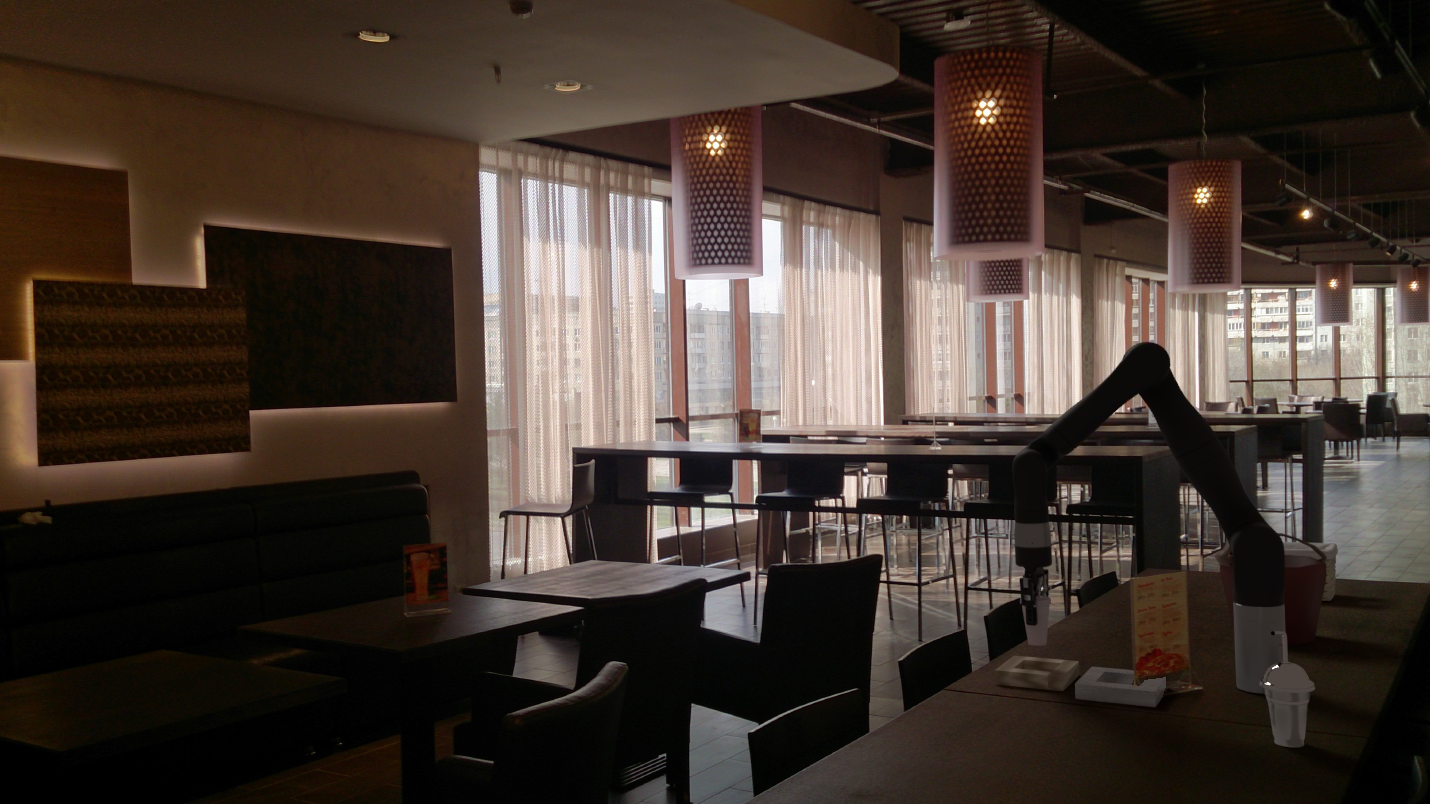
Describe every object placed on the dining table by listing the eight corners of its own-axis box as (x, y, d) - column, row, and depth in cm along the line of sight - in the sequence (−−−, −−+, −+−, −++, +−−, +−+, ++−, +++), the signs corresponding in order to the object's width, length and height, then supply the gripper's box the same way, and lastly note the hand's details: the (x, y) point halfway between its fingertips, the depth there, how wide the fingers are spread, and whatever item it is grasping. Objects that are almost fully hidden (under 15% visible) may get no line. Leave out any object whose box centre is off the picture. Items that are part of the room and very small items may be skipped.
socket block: (1079, 675, 237) (1078, 661, 237) (1063, 691, 225) (1062, 676, 225) (1014, 668, 244) (1014, 655, 244) (995, 684, 232) (994, 670, 232)
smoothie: (1054, 647, 231) (1051, 580, 231) (1022, 647, 232) (1019, 580, 232) (1051, 640, 237) (1048, 575, 237) (1020, 640, 238) (1017, 575, 238)
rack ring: (1168, 688, 224) (1168, 673, 224) (1155, 707, 211) (1154, 691, 211) (1092, 680, 232) (1091, 666, 232) (1075, 698, 219) (1074, 683, 219)
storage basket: (1238, 598, 314) (1236, 546, 314) (1248, 588, 327) (1246, 539, 327) (1334, 604, 300) (1332, 550, 300) (1340, 594, 313) (1338, 542, 313)
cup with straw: (1329, 747, 185) (1325, 628, 185) (1285, 754, 182) (1281, 633, 182) (1289, 733, 193) (1285, 619, 193) (1247, 739, 190) (1243, 624, 190)
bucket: (1218, 644, 259) (1214, 538, 259) (1214, 625, 280) (1210, 527, 280) (1337, 649, 250) (1333, 539, 250) (1324, 629, 271) (1320, 527, 270)
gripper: (1041, 548, 226) (1045, 630, 226) (1059, 539, 239) (1062, 616, 239) (1005, 547, 230) (1008, 627, 230) (1024, 538, 242) (1028, 614, 242)
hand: (1036, 621), depth 234 cm, fingers closed on smoothie, 6 cm apart
